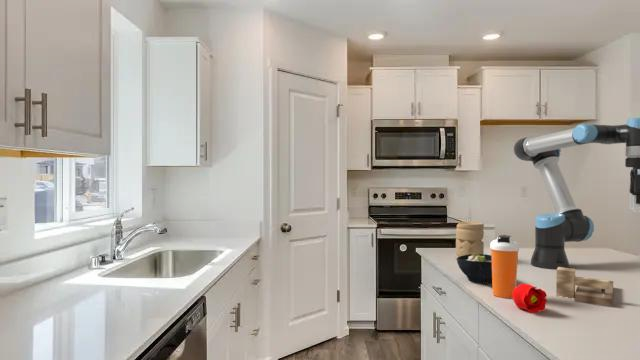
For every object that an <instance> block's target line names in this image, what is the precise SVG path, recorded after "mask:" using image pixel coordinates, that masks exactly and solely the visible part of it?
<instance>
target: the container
mask: <svg viewBox="0 0 640 360" xmlns="http://www.w3.org/2000/svg"><path fill="white" fill-rule="evenodd" d="M484 225H485V224H484V222H477V221H459V222H458V223H457V224H456V230H455V260H456V261H457V257H460V256H463V255H468V254H484V250H485V249H484V247H485V246H484V244H485V243H484V241H482V240H483V239H484V234H485V231H484V227H485V226H484Z"/></svg>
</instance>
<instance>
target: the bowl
mask: <svg viewBox="0 0 640 360" xmlns="http://www.w3.org/2000/svg"><path fill="white" fill-rule="evenodd" d="M491 259H492V258H491V254H468V255H463V256H460V257H457V260H456V263H457V265H458V268H459V269H460V270H461V272H462V273H463V274H464V275H465V276H466V278H467V280H468V281H470V282H472V283H474V284H475V283H476V284H491V283H492V261H491Z"/></svg>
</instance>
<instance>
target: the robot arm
mask: <svg viewBox="0 0 640 360" xmlns="http://www.w3.org/2000/svg"><path fill="white" fill-rule="evenodd" d="M587 144H601V145H614V144H625V157H626V158H625V163H624V164H625V165H624V166H625V167H626V168H632V169H631V170H630V172H629V176H630V179H629V180H630V181H629V182H630V183H629V210H631V211H633V213H640V117H633V118H628V119H627V120H626V123H625V124H617V125H616V124H615V125H609V124H608V125H607V124H591V123H581V124H578V125H577V126H575V127H573V128H570V129H566V130H561V131H557V132H556V131H555V132H553V133H549V134H544V135H539V136H527V137H522V138H520V139H518V140H517V141H516V142H515V143H514V146H513V152H514V155H515V157H516V158H518V159H519V160H521V161H526V162H532V164H533V167H534V169H538V170H539V172H540V175H541V178H542V179H543V183H544V186H545V187H546V190H547V193H548V195H549V197H550V200H551V203H552V205H553V209H554V211H555V213H553V212H552V213H551V212H550V213H542V214H539V215H537V216H536V217H535V224H534V227H535V229H534V231H535V233H534V236H535V238H534V239H535V240H534V241H535V244H534V245H535V246H534V247H535V248H534V251H533V252H532V255H531V259H530V265H532V266H534V267H538V268H542V269H543V268H544V269H550V270H551V269H553V270H557V268H558V267H563V268H570V265H569V264H570V262H569V260H568V256H567V253H566V251H565V243H569V242H570V243H572V242H577V243H578V242H583V241H588V240H589V239H590V238H591V237H592V236H593V233H594V231H595V225H594V222H593V220H592V218H590V217H588V216H587V215H584V212H583V211H582V209H581V208H579V207H577V206H576V204H575V201H574V200H573V196H572V195H571V192H570V189H569V187H568V185H567V182H566V180H565V178H564V176H563V173H562V171H561V169H560V166H559V161H560V156H561V151H562V149H566V148H570V147H577V146H582V145H587Z"/></svg>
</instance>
